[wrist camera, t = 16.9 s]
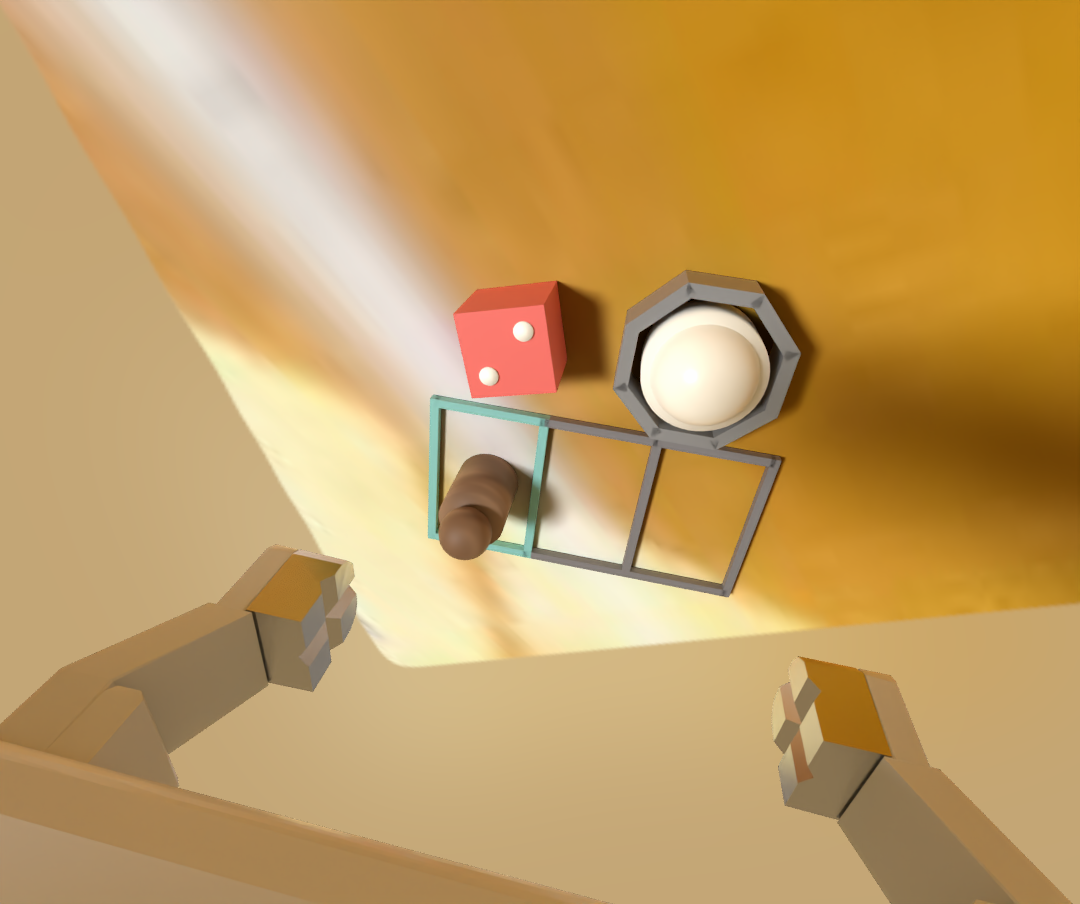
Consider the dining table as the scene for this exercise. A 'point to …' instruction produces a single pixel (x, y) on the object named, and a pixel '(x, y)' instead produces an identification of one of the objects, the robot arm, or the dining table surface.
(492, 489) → the pawn
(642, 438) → the frame
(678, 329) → the dome
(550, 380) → the red die
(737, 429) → the dome housing
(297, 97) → the dining table surface
